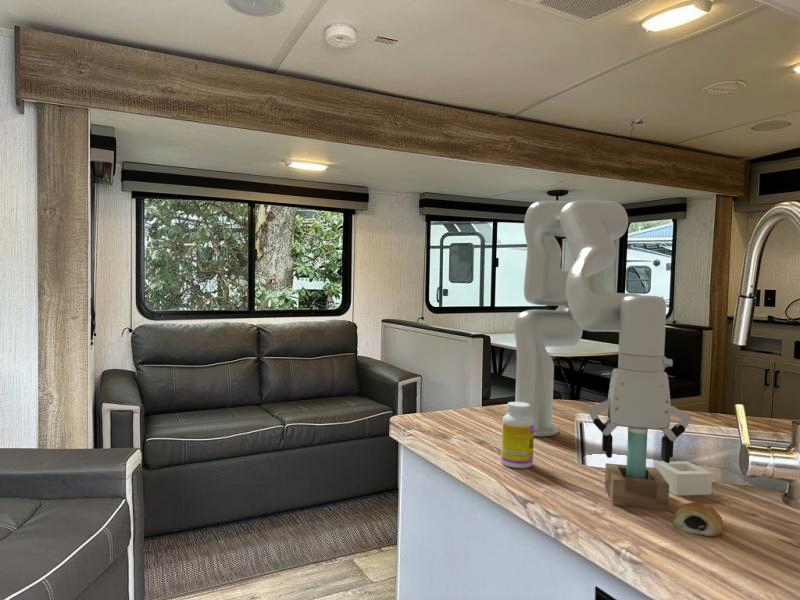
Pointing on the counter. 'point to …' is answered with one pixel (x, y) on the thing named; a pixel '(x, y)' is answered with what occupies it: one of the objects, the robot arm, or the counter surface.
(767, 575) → the counter surface
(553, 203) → the robot arm
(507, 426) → the supplement bottle
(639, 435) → the dowel
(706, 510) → the pastry
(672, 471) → the white square holed block
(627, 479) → the brown square wooden frame
